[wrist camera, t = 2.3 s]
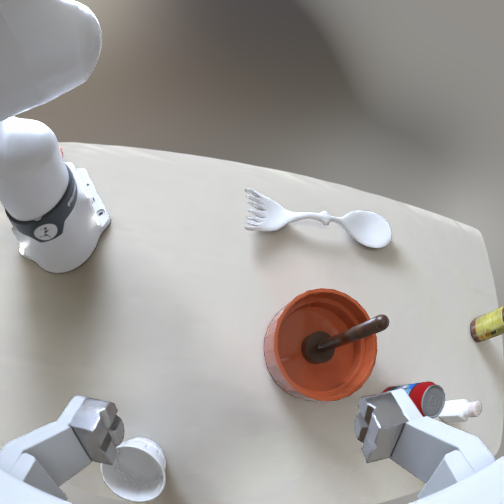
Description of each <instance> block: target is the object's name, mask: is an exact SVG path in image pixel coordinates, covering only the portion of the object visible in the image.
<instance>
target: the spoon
mask: <svg viewBox="0 0 504 504" xmlns="http://www.w3.org/2000/svg"><path fill="white" fill-rule="evenodd" d="M245 191H246V192H247V193H249V194H251V195H253V196H255V197H252V196H246V197H247V198H248V199H250V200H252V201H254V202H256V203H253V202H247V204H249V205H251V206H253V207H255V208H257V209H259V210H254V209H247V211H248V212H250V213H251V214H253V215H255V216H258V217H260V218H256V217H250V216H247V218H248V219H250V220H253V221H255V222H251V221H247V222H246V223H248V224H250V225H253V226H256V227H252V226H246V227H245V229H246V230H250V231H276V230H279V229H281V228H282V227H284V226H285V225H287V224H288V223H291V222H293V221H297V220H302V219H314V220H318V221H321V222H322V223H323V224H324V225H329V223H330V222H335V223H337V224H339V225H341V226H342V227H343V228H344V229H345V230H346V231H347V232H348V233H349V234H350V235H351V236H352V237H353V238H354V239H355V240H356V241H358V242H359V243H361V244H363V245H365V246H368V247H372V248H382V247H385V246H387V245H388V244H389V243H390V242H391V239H392V230H391V227H390V225H389V223H388V222H387V221H386V220H385V219H384V218H383V217H382V216H380V215H378V214H376V213H374V212H370V211H362V210H357V211H352V212H350V213H348V214H347V215H345V216H344V217H341V218H338V217H333V216H330V215H329V214H328V213H327V212H326V211H322V212H321V213H307V212H290V211H287V210H285V209H284V208H282V207H281V206H280V205H279V204H278V203H277V202H275V201H274V200H272V199H270V198H268V197H265V196H263V195H261V194H260V193H258V192H256V191H254V190H251V189H245ZM257 203H258V204H257ZM260 210H261V211H260Z"/></svg>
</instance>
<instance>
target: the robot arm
mask: <svg viewBox="0 0 504 504" xmlns="http://www.w3.org/2000/svg"><path fill="white" fill-rule="evenodd" d="M101 43H102V35H101V29H100V25H99V23H98V20H97V19H96V17H95V15H94V14H93V12H92V11H91V10H90V9H89V8H87V7H86V6H85V5H83V4H81V3H79V2H76V1H73V0H0V202H1V204H2V205H3V206H4V208H5V211H6V214H7V216H8V218H9V220H10V222H11V223H12V225H13V228H12V231H13V233H14V235H15V236H16V238H17V239H18V241H19V242H20V253H21V254H22V255H23V256H24V257H25V258H27V259H31V260H34V261H35V262H36V263H37V264H38V265H39V266H40V267H41V268H43V269H44V270H46V271H49V272H52V273H63V272H68V271H71V270H73V269H75V268H77V267H78V266H80V265H81V264H83V263H84V262H85V261H86V260H87V259H88V258H89V257H90V255H91V254H92V252H93V251H94V249H95V247H96V245H97V243H98V240H99V237H100V235H101V233H102V232H103V231H104V230H105V229H106V227H107V226H108V225H109V223H110V221H111V219H110V216H109V214H108V213H107V211H106V209H105V207H104V205H103V203H102V201H101V199H100V197H99V195H98V193H97V191H96V189H95V187H94V185H93V183H92V181H91V179H90V177H89V175H88V173H87V171H86V170H85V169H82V168H75V167H74V164H73V163H70V162H64V159H63V152H62V149H61V148H59V145H58V142H57V139H56V136H55V134H54V133H53V132H52V131H51V129H50V128H48V127H47V126H46V125H45V124H43V123H42V122H39V121H36V120H30V119H21V118H16V117H14V115H17V114H19V113H21V112H24V111H26V110H29V109H31V108H34V107H36V106H39V105H41V104H44V103H47V102H49V101H50V100H53V99H54V98H56V97H58V96H60V95H62V94H64V93H66V92H68V91H69V90H71V89H73V88H75V87H77V86H79V85H81V84H83V83H84V82H85V81H86V80H87V79H88V77H89V76H90V74H91V73H92V71H93V69H94V68H95V65H96V63H97V61H98V58H99V55H100V51H101ZM101 214H103V215H102V216H100V215H101ZM358 407H359V409H360V411H359V412H358V413H357V414H356V417H355V422H354V424H355V433H356V436H357V439H358V440H359V441H361V442H362V443H363V446H362V452H363V454H364V457H365V459H366V462H367V463H369V462H373V461H378V460H382V459H386V458H390V457H391V458H390V459H392V460H393V461H394V462H396V463H397V464H399V465H400V466H401V467H403V468H404V469H406V470H407V471H409V472H410V473H412V474H413V475H414V476H416V477H417V478H419V479H420V480H422V481H423V482H425V483H426V485H425V486H424V487H423V489H422V490H421V492H420V493H419V494H418V496H417V498H418V500H417V501H414V502H411V503H409V504H504V456H502V457H501V458H499V459H498V460H496V459H495V458H494V457H493V455H492V454H491V453H490V451H489V450H488V448H487V447H486V446H485V444H484V443H483V442H482V440H481V439H480V438H479V437H476V436H474V435H471V434H469V433H466V432H464V431H461V430H459V429H456V428H454V427H451V426H449V425H447V424H444V423H442V422H440V421H437V420H435V419H433V418H430V417H428V416H425V417H423V416H422V414H421V413H420V412H419V410H418V409H417V407H416V406H415V404H414V403H413V401H412V400H411V399H410V397H409V396H408V394H407V393H406V391H405V390H404V389H402V388H401V389H397V390H393V391H389V392H384V393H380V394H375V395H370V396H365V397H361V399H360V400H359V404H358ZM117 411H118V410H117V408H116V405H115V403H112V402H109V401H103V400H98V399H93V398H87V397H82V396H78V395H77V396H75V397H73V399H72V400H71V401H70V403H69V404H68V406H67V407H66V409H65V410H64V411H63V413H62V414H61V416H60V417H59V419H58V420H57V422H51V423H49V424H47V425H45V426H43V427H40V428H38V429H36V430H34V431H32V432H30V433H27V434H25V435H23V436H21V437H19V438H16V439H14V440H12V441H10V442H7V443H6V444H5V446H4V447H3V449H2V450H1V451H0V504H73V503H70V502H68V501H67V496H66V495H65V493H64V492H63V491H62V490H61V489H60V488H59V486H61V485H62V484H63V483H65V482H66V481H67V480H69V479H70V478H71V477H73V476H74V475H75V474H77V473H78V472H79V471H81V470H82V469H83V468H85V467H86V466H87V465H89V464H90V463H91V462H92V461H95V462H99V463H104V464H108V465H113V463H114V460H115V458H116V456H117V453H118V451H117V449H116V447H117V446H118V445H120V444H121V443H122V441H123V438H124V431H125V430H124V424H123V422H122V419H121V418H119V417H118V416H117V415H116V413H117Z"/></svg>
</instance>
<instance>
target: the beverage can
mask: <svg viewBox="0 0 504 504" xmlns="http://www.w3.org/2000/svg"><path fill="white" fill-rule="evenodd" d="M401 388H402V389H404V390H405V391H406V393H407V394H408V396H409V397H410V399H411V400H412V401H413V403H414V404H415V406H416V407H417V409H418V410H419V412H420V413H421V414H422V416H423V417H425V416H428V417H430V418H435V417H437V416H438V415H439V414H440V413H441V412H442V410H443V408H444V404H445V393H444V391H443V389H442V387H440V386H439V385H436V384H435V383H433V382H422V383H415V384H409V385H402V386H395V387H390V388H387V389H386V390H384V391H383V392H382V393H384V392H389V391H393V390H397V389H401Z"/></svg>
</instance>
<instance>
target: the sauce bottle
mask: <svg viewBox="0 0 504 504" xmlns="http://www.w3.org/2000/svg"><path fill="white" fill-rule="evenodd" d="M471 333H472V337H473V338H474V340H475V341H477V342H480V341H484V340H487V339H490V338H492V337H495V336H498V335H501V334H503V333H504V306H503V307H501V308H498V309H496V310H494V311H492V312H489V313H487V314H485V315H483V316H480V317H478V318H477V319H475V320H473V322H472V324H471Z"/></svg>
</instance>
